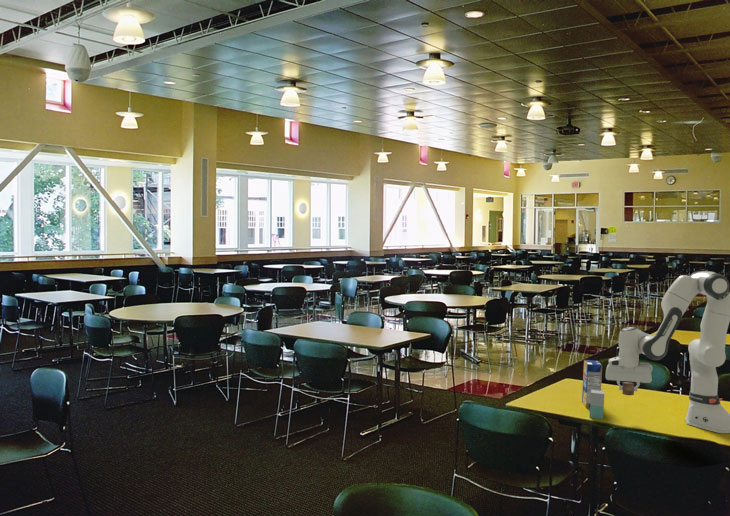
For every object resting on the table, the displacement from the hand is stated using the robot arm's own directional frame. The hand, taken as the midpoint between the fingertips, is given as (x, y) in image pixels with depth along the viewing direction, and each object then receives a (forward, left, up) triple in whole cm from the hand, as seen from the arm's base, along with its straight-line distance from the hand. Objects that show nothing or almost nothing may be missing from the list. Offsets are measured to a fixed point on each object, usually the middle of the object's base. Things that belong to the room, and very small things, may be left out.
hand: (628, 390), depth 294 cm
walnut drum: (0, 0, -2) cm, 2 cm away
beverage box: (+24, -1, -14) cm, 28 cm away
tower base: (+8, +11, -14) cm, 19 cm away
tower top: (+8, +11, -8) cm, 16 cm away
